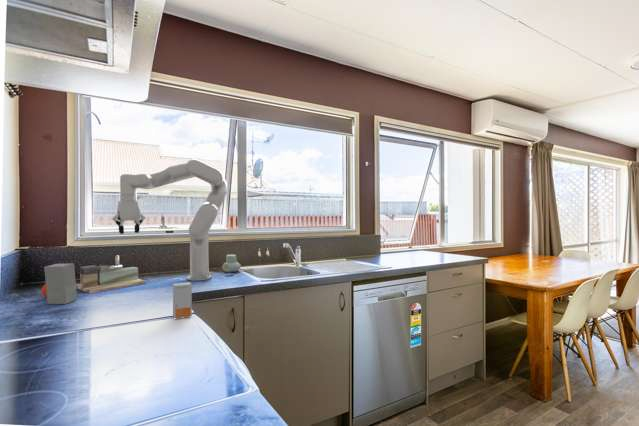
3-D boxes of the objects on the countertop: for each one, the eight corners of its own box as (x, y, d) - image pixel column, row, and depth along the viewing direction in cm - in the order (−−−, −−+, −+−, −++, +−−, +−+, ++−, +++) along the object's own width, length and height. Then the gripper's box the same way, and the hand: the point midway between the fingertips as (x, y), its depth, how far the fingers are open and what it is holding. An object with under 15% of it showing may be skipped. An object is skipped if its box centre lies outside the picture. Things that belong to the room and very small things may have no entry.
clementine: (60, 298, 151) (60, 282, 151) (40, 301, 147) (39, 284, 147) (62, 294, 158) (62, 278, 157) (43, 296, 154) (42, 280, 154)
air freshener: (242, 271, 212) (242, 255, 212) (231, 273, 205) (231, 256, 205) (231, 269, 219) (231, 253, 218) (220, 271, 212) (220, 255, 212)
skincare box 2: (173, 320, 123) (173, 285, 122) (172, 316, 127) (172, 283, 126) (192, 317, 126) (191, 284, 125) (190, 314, 129) (190, 281, 129)
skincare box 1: (77, 300, 148) (76, 262, 148) (63, 305, 141) (62, 265, 141) (59, 299, 149) (58, 262, 149) (44, 304, 142) (43, 265, 142)
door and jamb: (145, 283, 179) (145, 262, 179) (90, 293, 160) (89, 269, 159) (129, 279, 190) (128, 258, 190) (75, 287, 171) (75, 265, 170)
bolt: (122, 268, 178) (122, 254, 178) (100, 271, 170) (100, 257, 170) (120, 268, 179) (120, 254, 179) (99, 271, 172) (98, 256, 171)
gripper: (142, 198, 190) (142, 231, 191) (107, 198, 177) (107, 234, 177) (149, 198, 186) (149, 232, 186) (113, 198, 172) (114, 234, 172)
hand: (129, 232), depth 182 cm, fingers open, 6 cm apart
